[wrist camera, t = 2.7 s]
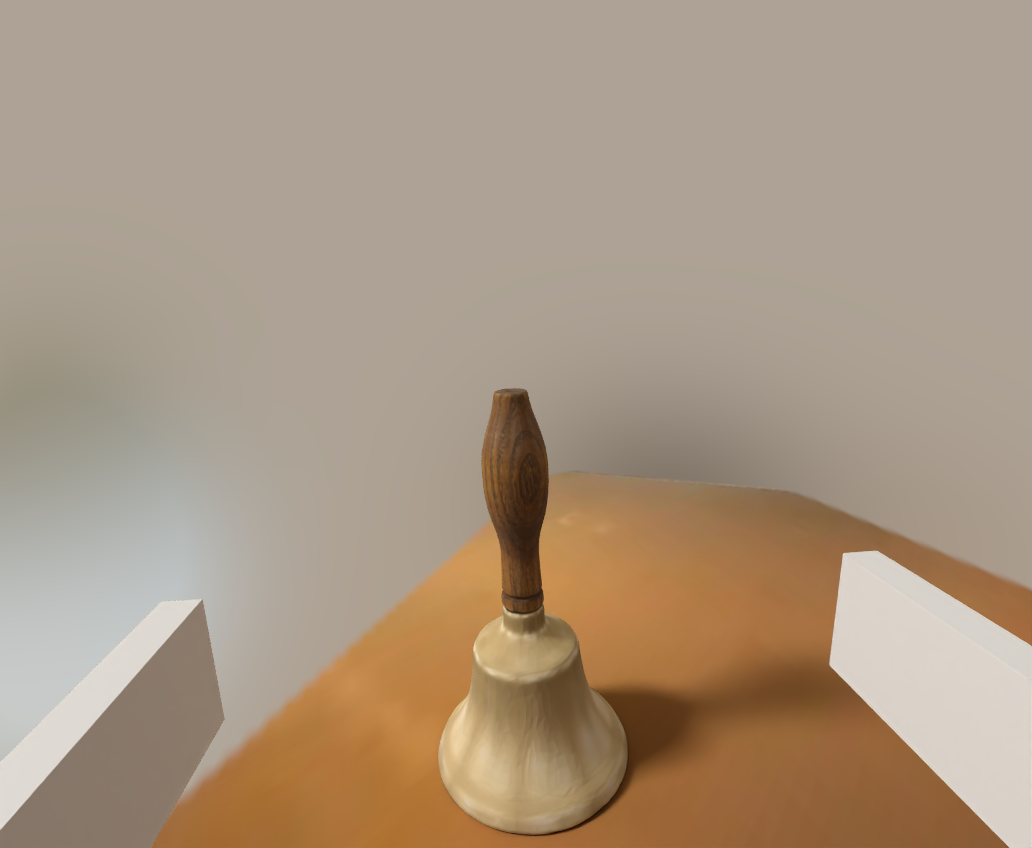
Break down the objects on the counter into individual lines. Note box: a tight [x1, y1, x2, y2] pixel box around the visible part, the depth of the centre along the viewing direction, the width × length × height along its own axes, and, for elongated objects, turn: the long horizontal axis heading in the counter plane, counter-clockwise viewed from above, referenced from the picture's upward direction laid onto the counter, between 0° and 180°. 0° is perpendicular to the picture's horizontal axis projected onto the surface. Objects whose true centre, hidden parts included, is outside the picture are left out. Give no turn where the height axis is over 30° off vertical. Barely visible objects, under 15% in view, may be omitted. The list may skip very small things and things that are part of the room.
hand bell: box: [438, 389, 628, 835], centre depth 22 cm, size 8×8×16 cm
